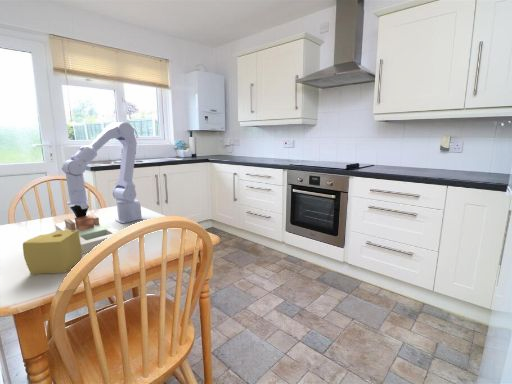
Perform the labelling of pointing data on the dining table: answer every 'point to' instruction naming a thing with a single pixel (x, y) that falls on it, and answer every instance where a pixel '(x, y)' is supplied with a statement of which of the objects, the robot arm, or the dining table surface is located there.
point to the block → (84, 222)
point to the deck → (89, 232)
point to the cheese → (52, 252)
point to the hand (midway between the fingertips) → (81, 223)
